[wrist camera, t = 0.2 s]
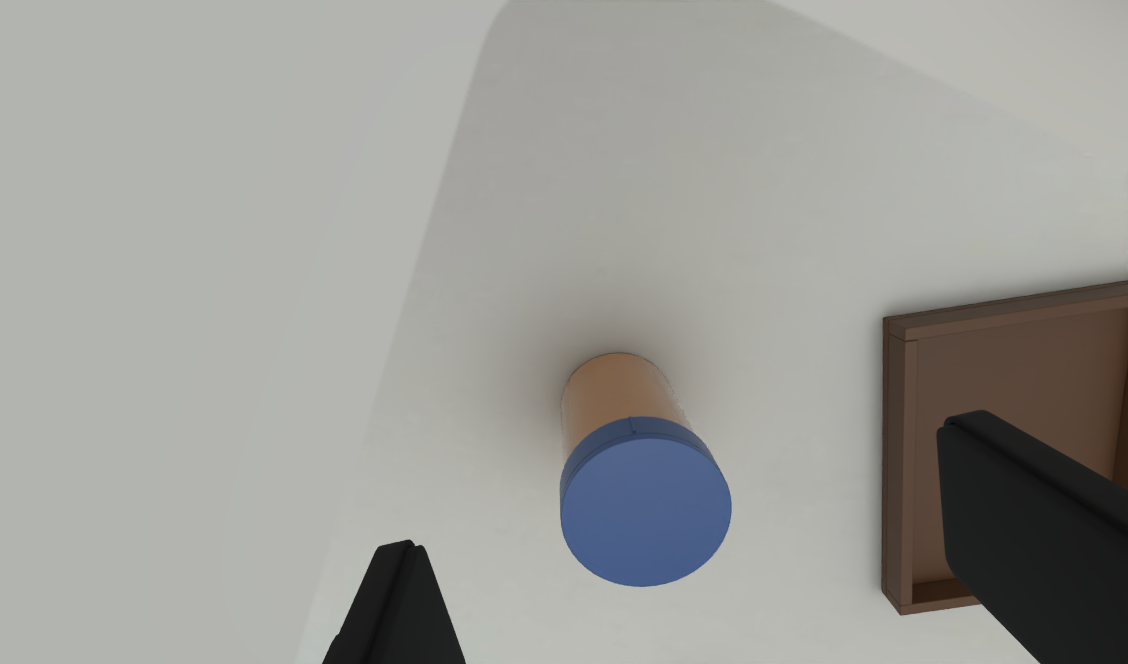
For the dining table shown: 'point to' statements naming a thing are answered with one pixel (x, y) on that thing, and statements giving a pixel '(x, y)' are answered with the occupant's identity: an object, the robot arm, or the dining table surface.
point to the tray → (993, 410)
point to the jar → (614, 396)
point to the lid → (643, 502)
